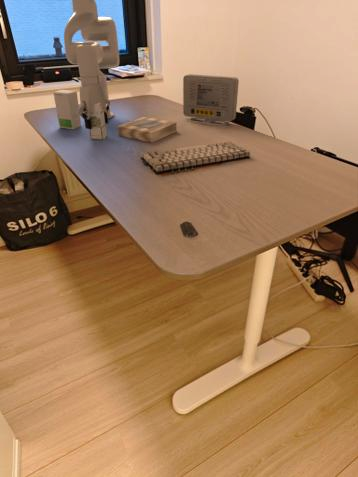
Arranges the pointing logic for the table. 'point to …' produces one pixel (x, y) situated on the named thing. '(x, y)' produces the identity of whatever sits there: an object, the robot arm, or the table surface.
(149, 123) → the birch platform
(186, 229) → the block
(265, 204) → the table surface
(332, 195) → the table surface
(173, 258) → the table surface
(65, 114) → the skincare box
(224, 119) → the network device
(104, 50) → the robot arm
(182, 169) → the mechanical keyboard
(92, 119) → the syrup box
